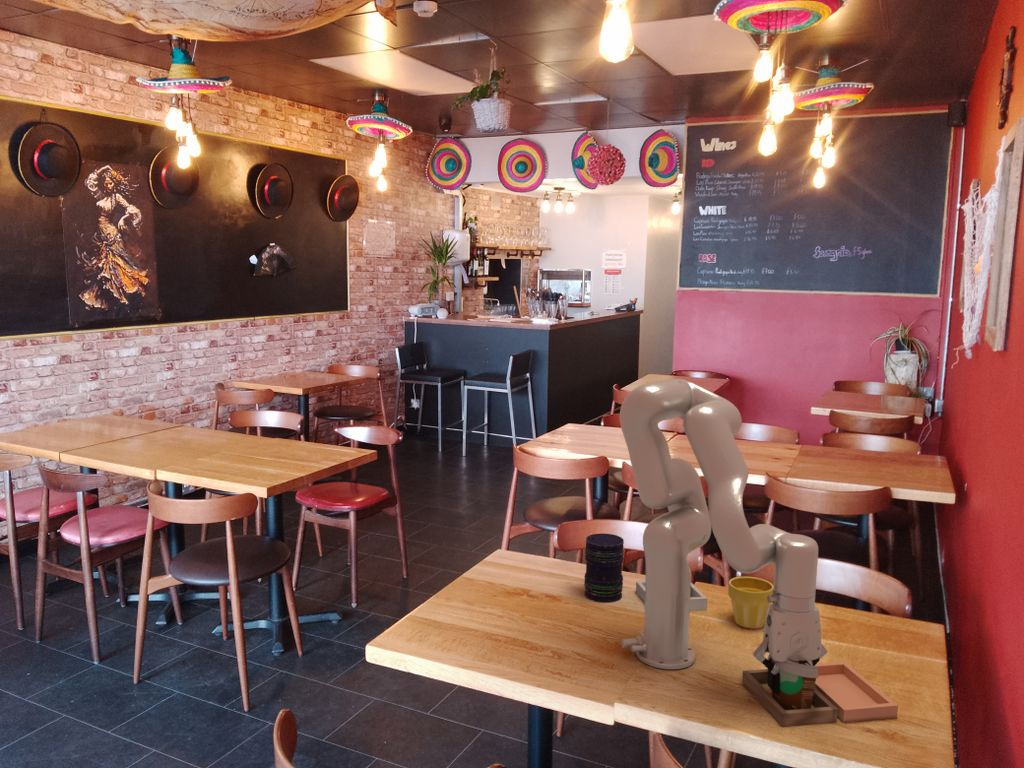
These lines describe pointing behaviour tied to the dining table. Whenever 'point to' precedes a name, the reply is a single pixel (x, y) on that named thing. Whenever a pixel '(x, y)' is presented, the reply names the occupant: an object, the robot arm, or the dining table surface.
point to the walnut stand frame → (790, 717)
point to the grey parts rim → (696, 600)
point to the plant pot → (750, 600)
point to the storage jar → (604, 568)
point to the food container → (796, 684)
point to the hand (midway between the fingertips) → (787, 688)
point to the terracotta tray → (853, 694)
